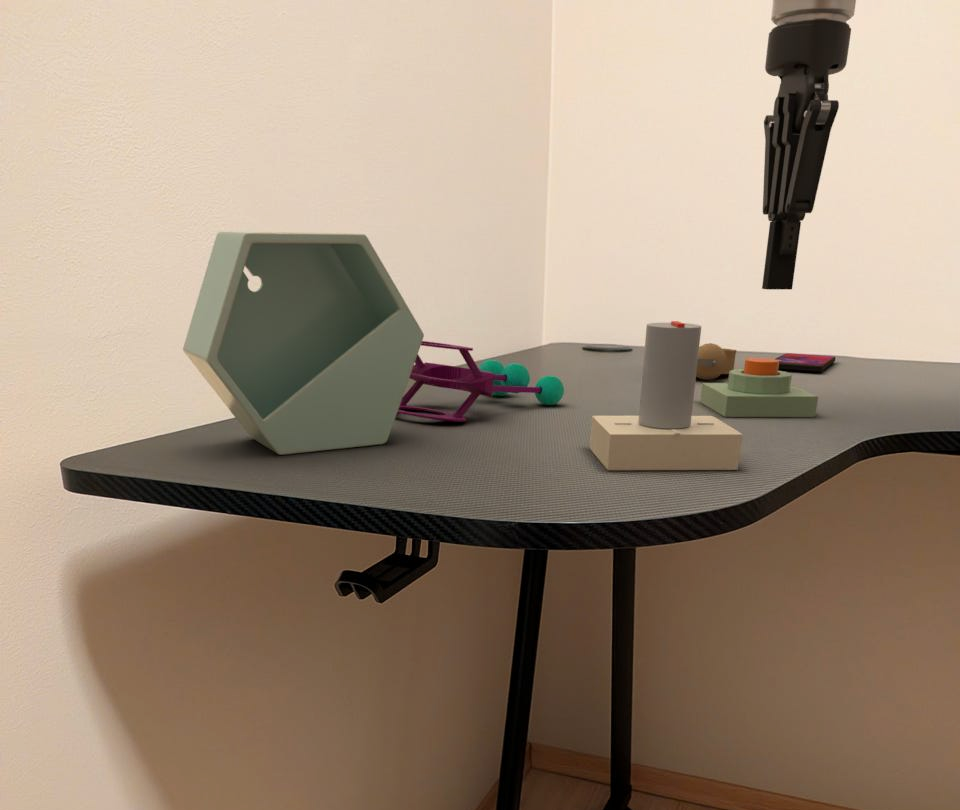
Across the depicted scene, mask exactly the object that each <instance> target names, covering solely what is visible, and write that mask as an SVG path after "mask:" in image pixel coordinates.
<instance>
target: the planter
mask: <svg viewBox="0 0 960 810" xmlns="http://www.w3.org/2000/svg"><path fill="white" fill-rule="evenodd" d="M245 269H246V270H247V271H248V273H249V274H250V275H251V276H252V277H258V278H259V279H260V283H261V284H260V286H259V288H257V290H255V291H254V290H251V289H250V288H249V280H250V279H249V278H248V276H247V274H246V273H245V271H244V270H245ZM424 337H425V334H424V332H423V330H422V329H421V326H420V325H419V323H418V321H417V320H416V317H415V316H414V315H413V313H412V311H411V309H410V308H409V306H408V304H407V302H406V301H405V299H404V297H403V295H402V293H401V292H400V290H399V289H398V287H397V285H396V284H395V282H394V281H393V279H392V277H391V276H390V274H389V272H388V270H387V268H386V267H385V265H384V264H383V261H382V260H381V258H380V256H379V254H378V253H377V251H376V250H375V248H374V246H373V245H372V243H371V241H370V239H369V238H368V236H367V235H366V234H364V233H345V232H342V233H341V232H296V231H295V232H291V231H290V232H289V231H286V232H285V231H280V232H279V231H218V232H217V233H216V236H215V239H214V243H213V246H212V249H211V253H210V256H209V259H208V263H207V266H206V269H205V273H204V275H203V280H202V283H201V286H200V289H199V294H198V297H197V300H196V303H195V307H194V310H193V313H192V316H191V320H190V323H189V327H188V330H187V333H186V338H185V340H184V345H183V347H182V350H183V352H184V354H185V355H186V356H187V358H188V359H189V360H190V361H191V363H192V364H193V365H194V367H195V368H196V369H197V370H198V372H199V373H200V374H201V375H202V377H203V378H204V380H205V381H206V382H207V383H208V385H209V386H210V387H211V388H212V390H213V391H214V392H215V394H216V395H217V396H218V398H220V400H221V401H222V402H223V404H224V405H225V406H226V408H227V409H228V410H229V411H230V413H231V414H232V415H233V417H234V418H235V419H236V420H237V422H238V423H239V424H240V426H241V427H242V428H243V429H244V430H245V432H246V433H247V434H248V436H249V437H250V438H251V439H252V440H254V441H255V442H257V443H259V444H261V445H262V446H264V447H266V448H267V449H269V450H270V451H272V452H274V453H275V454H276V455H280V456H284V455H294V454H303V453H312V452H313V453H314V452H322V451H331V450H341V449H352V448H359V447H370V446H378V445H384V444H386V443H387V441H388V440H389V437H390V434H391V432H392V429H393V426H394V423H395V420H396V417H397V414H398V413H397V412H398V410H400V409H399V406H400V403H401V400H402V398H403V397H404V395H405V391H406V388H407V386H408V383H409V380H410V378H409V377H410V375H411V372H412V369H413V366H414V365H415V360H416V357H417V354H418V355H419V352H420V349H421V346H422V345H421V343H422V341H424Z"/></svg>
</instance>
